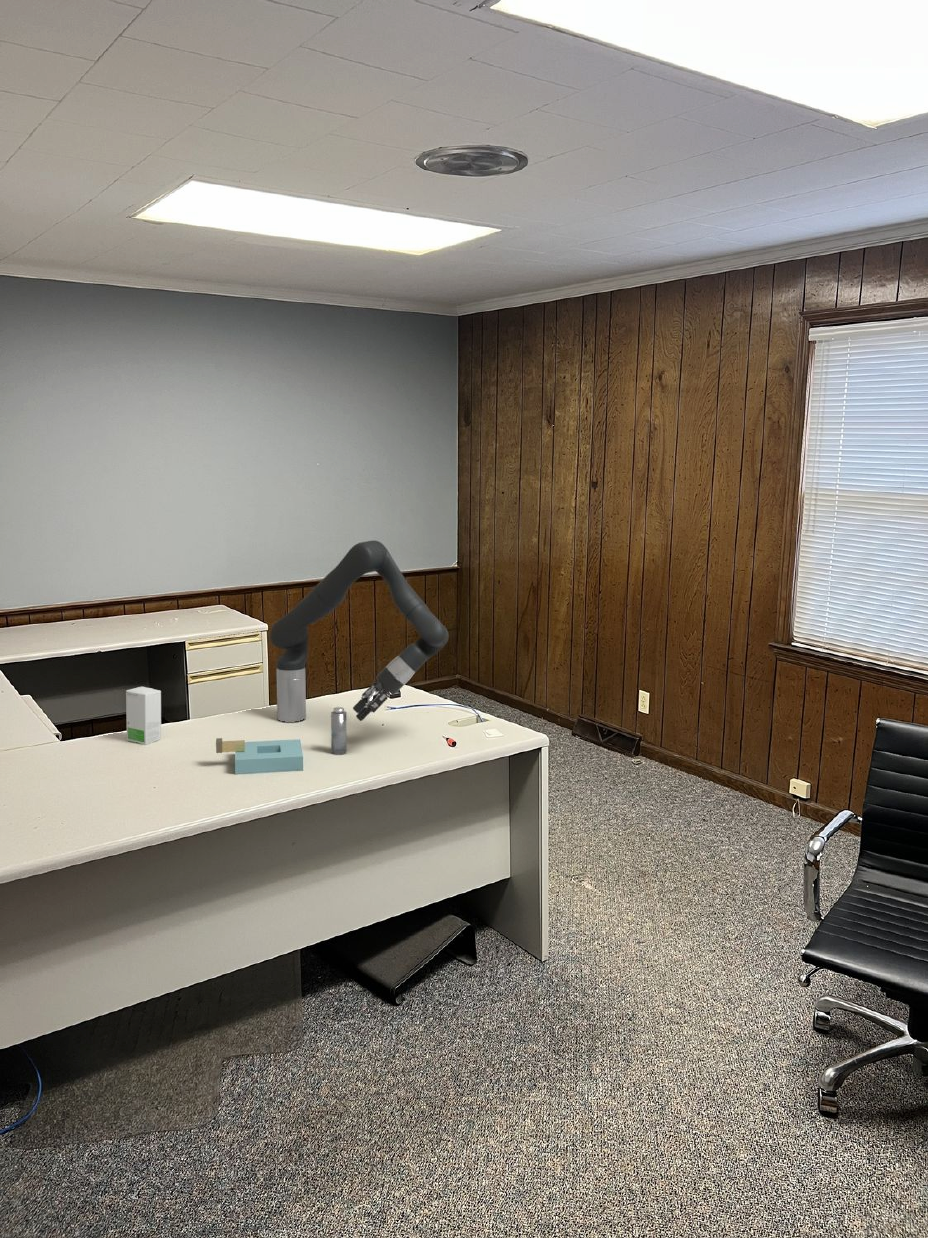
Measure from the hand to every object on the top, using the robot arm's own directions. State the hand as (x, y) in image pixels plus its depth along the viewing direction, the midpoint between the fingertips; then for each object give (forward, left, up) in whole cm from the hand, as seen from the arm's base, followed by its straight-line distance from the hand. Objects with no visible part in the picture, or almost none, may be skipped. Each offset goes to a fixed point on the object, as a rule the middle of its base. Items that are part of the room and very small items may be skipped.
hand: (356, 714), depth 263 cm
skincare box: (-22, -61, -11) cm, 66 cm away
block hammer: (+6, -35, -7) cm, 36 cm away
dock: (+6, -25, -11) cm, 28 cm away
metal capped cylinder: (0, -5, -11) cm, 12 cm away
